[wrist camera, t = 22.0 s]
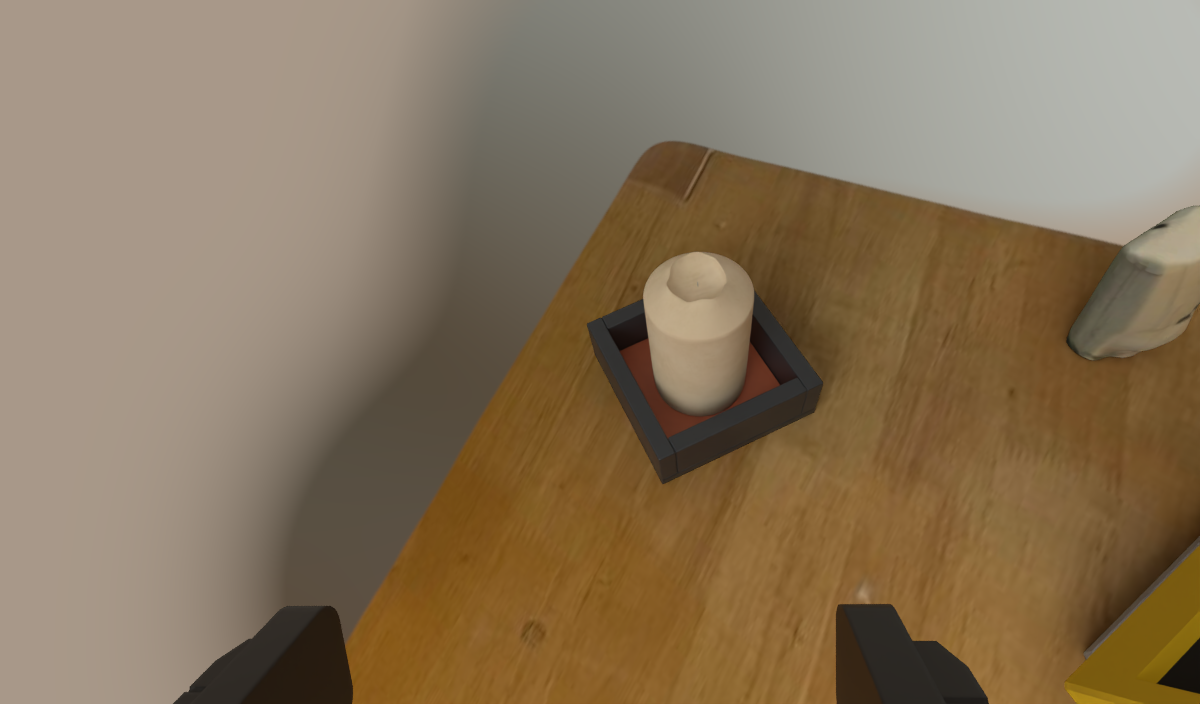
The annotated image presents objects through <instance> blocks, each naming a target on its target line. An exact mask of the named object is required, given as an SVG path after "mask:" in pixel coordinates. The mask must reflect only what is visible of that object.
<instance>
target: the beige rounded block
mask: <svg viewBox="0 0 1200 704" xmlns="http://www.w3.org/2000/svg"><path fill="white" fill-rule="evenodd" d="M1199 304H1200V206H1191V207H1188V208H1184V209H1182V210H1179V211H1177V212H1175V213H1174V214H1172V215H1171V216H1169V217H1168V218H1167V219H1165V220H1163V221H1162V222H1160V223H1159V224H1157V225H1156V226H1154V227H1153V228H1151V229H1149V230H1148V231H1146V232H1144V233H1143V234H1141V235H1140V236H1138V237H1137V238H1135V239H1134V240H1132V241H1130V242H1129V243H1128V244H1126V245H1124V246H1123V247H1122V249H1121V250H1120V251H1119V253H1118V254H1117V256H1116V257H1115V259H1114V260H1113V262H1112V263H1111V265H1110V266H1109V268H1108V270H1107V271H1106V273H1105V274H1104V276H1103V277H1102V279H1101V281H1100V282H1099V284H1098V286H1097V287H1096V289H1095V291H1094V292H1093V294H1092V296H1091V297H1090V299H1089V301H1088V302H1087V304H1086V305H1085V307H1084V309H1083V310H1082V312H1081V313H1080V315H1079V316H1078V318H1077V319H1076V321H1075V323H1074V324H1073V326H1072V327H1071V329H1070V332H1069V335H1068V337H1067V341H1066V342H1067V344H1068V345H1069V346H1070V347H1071V349H1072V350H1074V351H1075V352H1076V353H1077V354H1079V355H1081V356H1082V357H1085V358H1087V359H1089V360H1099V359H1102V358H1105V357H1109V356H1112V357H1120V358H1125V357H1129V356H1134V355H1135V354H1137V353H1139V352H1141V351H1147V350H1150V349H1154V348H1156V347H1159V346H1161V345H1163V344H1166V343H1168V342H1170V341H1172V340H1174V339H1175V338H1177V337H1178V336H1179V335H1181V334H1182V333H1183V332H1184V331H1185V330H1186V328H1187V325H1188V324H1189V322H1190V320H1191V318H1192V315H1193V313H1194V311H1195V309H1196V308H1197V307H1198V305H1199Z"/></svg>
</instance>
